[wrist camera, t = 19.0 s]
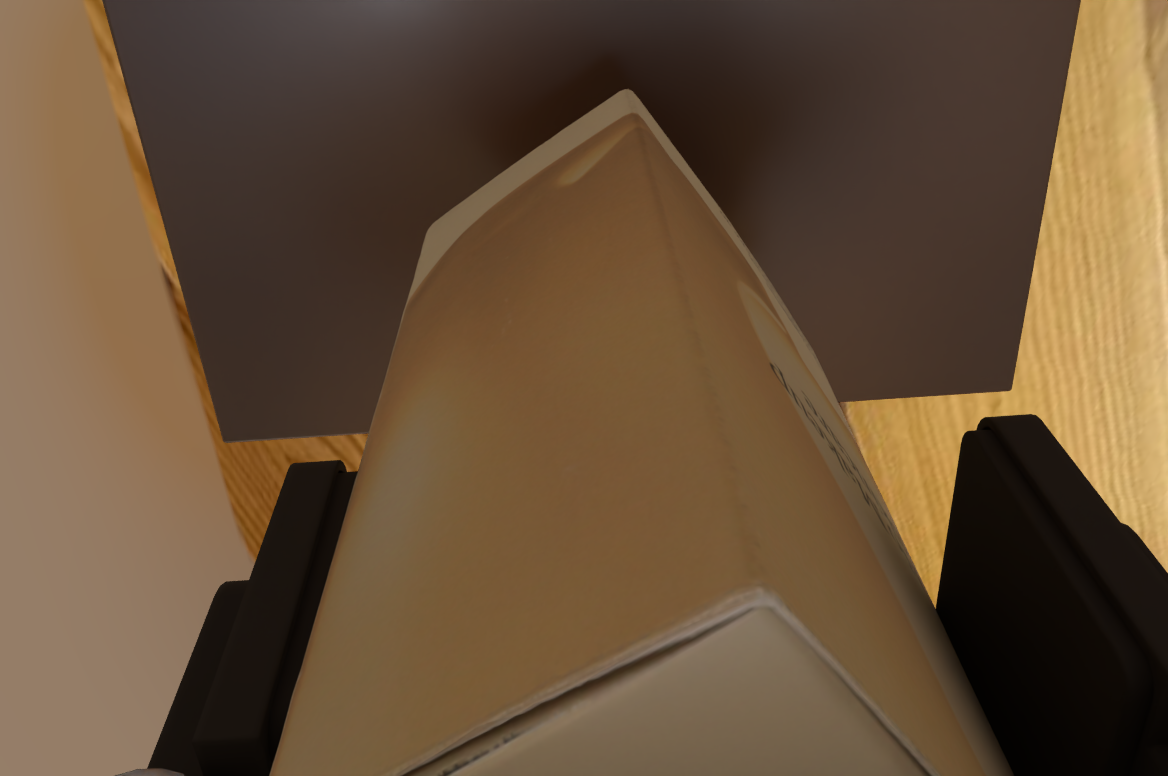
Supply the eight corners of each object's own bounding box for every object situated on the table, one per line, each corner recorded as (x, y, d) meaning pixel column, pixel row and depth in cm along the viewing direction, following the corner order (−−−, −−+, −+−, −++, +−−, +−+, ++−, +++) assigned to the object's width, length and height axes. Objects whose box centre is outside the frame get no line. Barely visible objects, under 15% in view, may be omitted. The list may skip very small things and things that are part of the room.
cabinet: (317, 240, 34) (222, 444, 24) (251, -97, 29) (94, -22, 19) (869, 204, 34) (1012, 391, 24) (899, -138, 29) (1097, -86, 19)
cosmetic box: (821, 351, 19) (1184, 1068, 8) (624, 472, 20) (727, 1236, 10) (619, 59, 16) (786, 586, 6) (403, 218, 17) (210, 902, 7)
